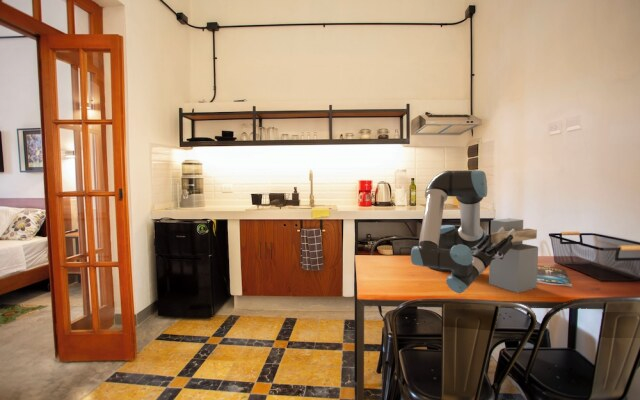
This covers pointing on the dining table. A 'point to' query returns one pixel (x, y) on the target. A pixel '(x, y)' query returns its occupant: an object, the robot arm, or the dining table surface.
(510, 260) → the stand
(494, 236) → the ash rod
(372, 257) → the dining table surface
